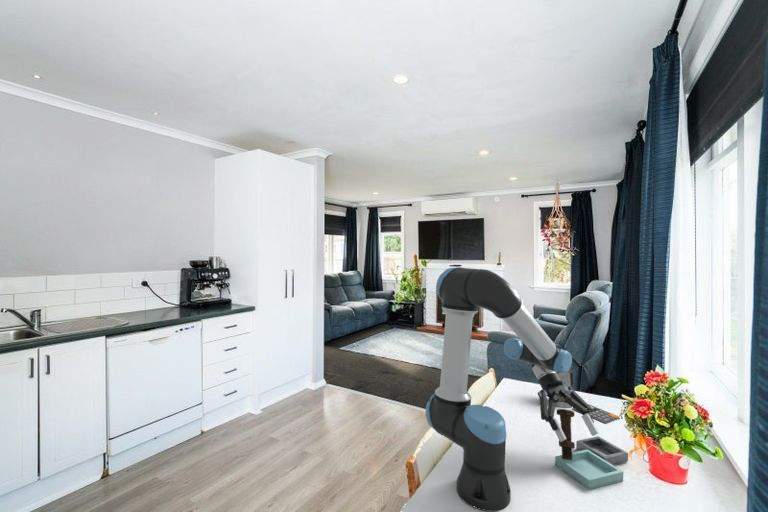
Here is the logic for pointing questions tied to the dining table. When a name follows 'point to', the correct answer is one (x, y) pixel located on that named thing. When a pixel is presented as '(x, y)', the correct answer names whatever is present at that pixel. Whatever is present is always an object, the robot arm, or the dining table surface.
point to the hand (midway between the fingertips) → (579, 437)
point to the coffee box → (566, 385)
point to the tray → (589, 469)
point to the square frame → (615, 453)
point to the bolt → (566, 433)
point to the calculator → (601, 415)
